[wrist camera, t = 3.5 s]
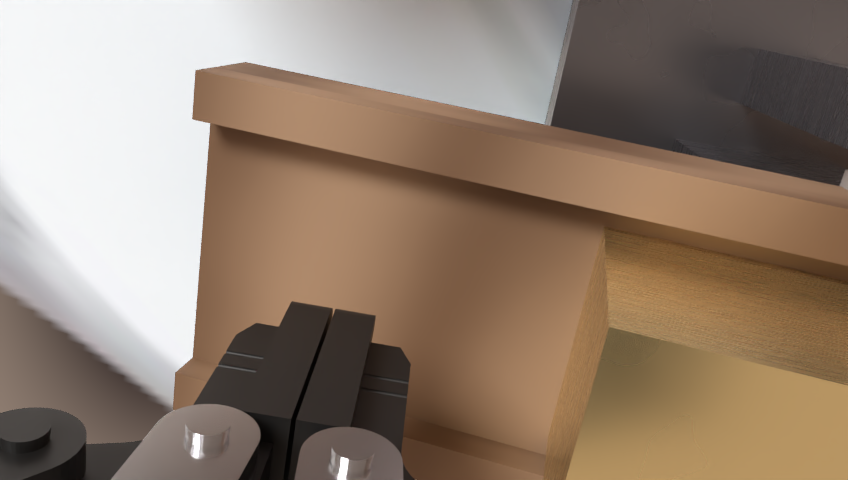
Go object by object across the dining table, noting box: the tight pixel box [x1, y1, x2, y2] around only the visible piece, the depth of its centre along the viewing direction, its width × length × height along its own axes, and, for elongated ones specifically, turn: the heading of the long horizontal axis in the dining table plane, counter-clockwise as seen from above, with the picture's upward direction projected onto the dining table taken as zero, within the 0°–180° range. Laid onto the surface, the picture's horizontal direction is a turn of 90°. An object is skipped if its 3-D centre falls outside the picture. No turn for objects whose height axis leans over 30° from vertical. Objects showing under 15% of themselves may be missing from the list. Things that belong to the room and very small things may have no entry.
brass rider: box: [543, 226, 848, 480], centre depth 13 cm, size 7×5×5 cm
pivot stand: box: [545, 0, 848, 186], centre depth 19 cm, size 12×16×8 cm
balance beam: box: [173, 62, 848, 480], centre depth 17 cm, size 28×9×5 cm, turn 80°
